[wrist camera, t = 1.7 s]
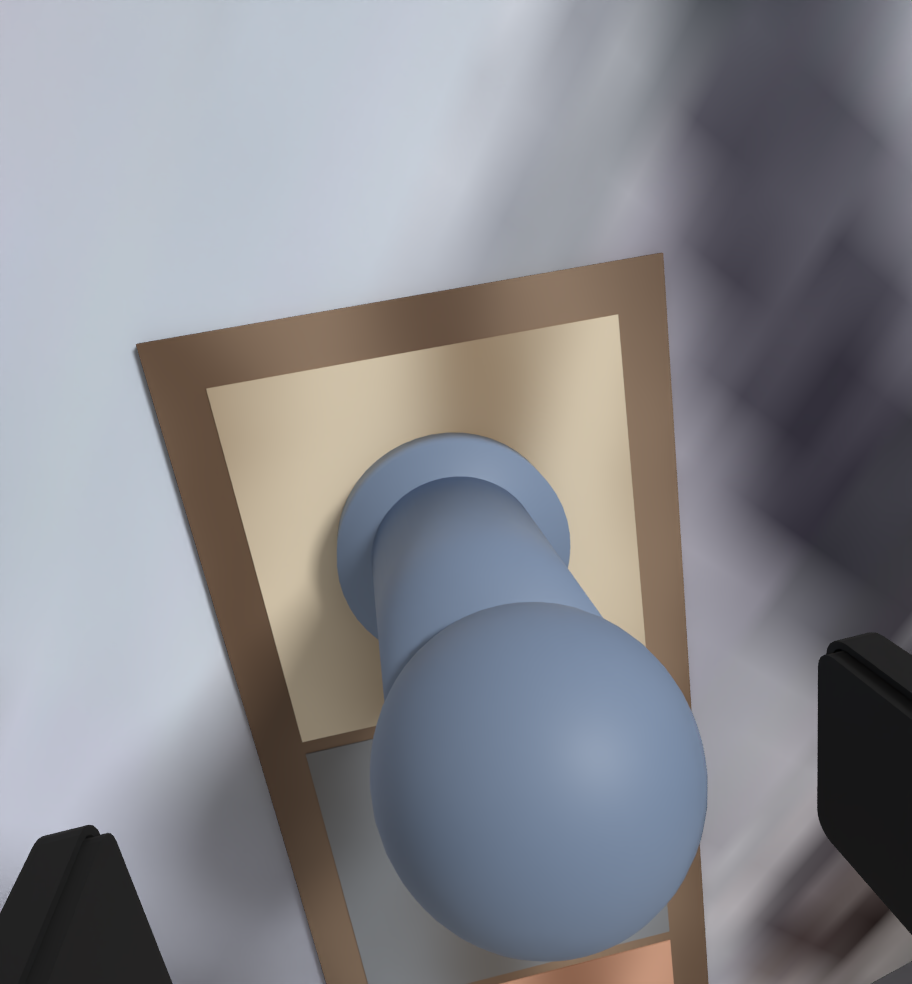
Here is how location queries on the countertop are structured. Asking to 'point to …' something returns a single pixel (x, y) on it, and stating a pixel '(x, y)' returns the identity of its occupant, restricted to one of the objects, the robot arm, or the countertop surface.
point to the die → (898, 976)
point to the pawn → (512, 711)
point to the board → (313, 554)
